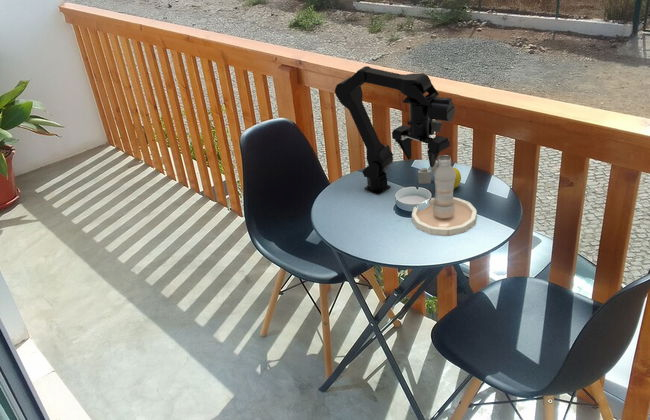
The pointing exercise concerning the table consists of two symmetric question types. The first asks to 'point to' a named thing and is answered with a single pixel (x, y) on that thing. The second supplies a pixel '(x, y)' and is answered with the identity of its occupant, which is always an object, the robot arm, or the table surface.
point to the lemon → (457, 178)
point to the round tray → (454, 225)
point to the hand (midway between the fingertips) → (420, 162)
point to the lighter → (426, 174)
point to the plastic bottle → (444, 188)
